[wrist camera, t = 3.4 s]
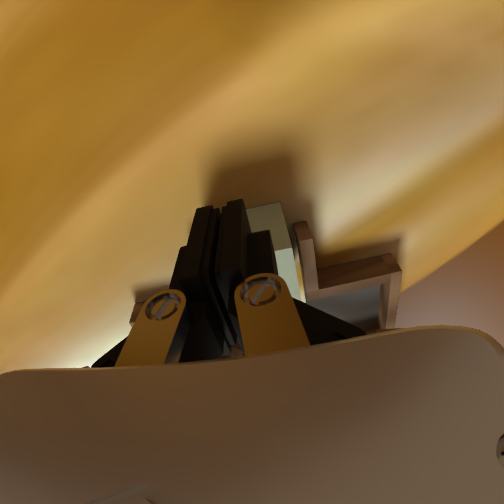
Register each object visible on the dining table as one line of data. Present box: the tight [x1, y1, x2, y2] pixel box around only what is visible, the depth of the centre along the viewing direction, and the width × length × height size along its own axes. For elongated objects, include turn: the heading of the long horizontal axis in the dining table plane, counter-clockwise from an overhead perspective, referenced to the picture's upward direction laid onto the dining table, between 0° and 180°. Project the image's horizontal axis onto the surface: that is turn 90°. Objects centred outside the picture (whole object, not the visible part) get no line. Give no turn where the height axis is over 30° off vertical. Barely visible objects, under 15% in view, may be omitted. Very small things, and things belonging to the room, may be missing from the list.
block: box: [246, 202, 301, 301], centre depth 23 cm, size 6×6×6 cm
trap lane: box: [129, 221, 402, 359], centre depth 30 cm, size 23×24×5 cm
